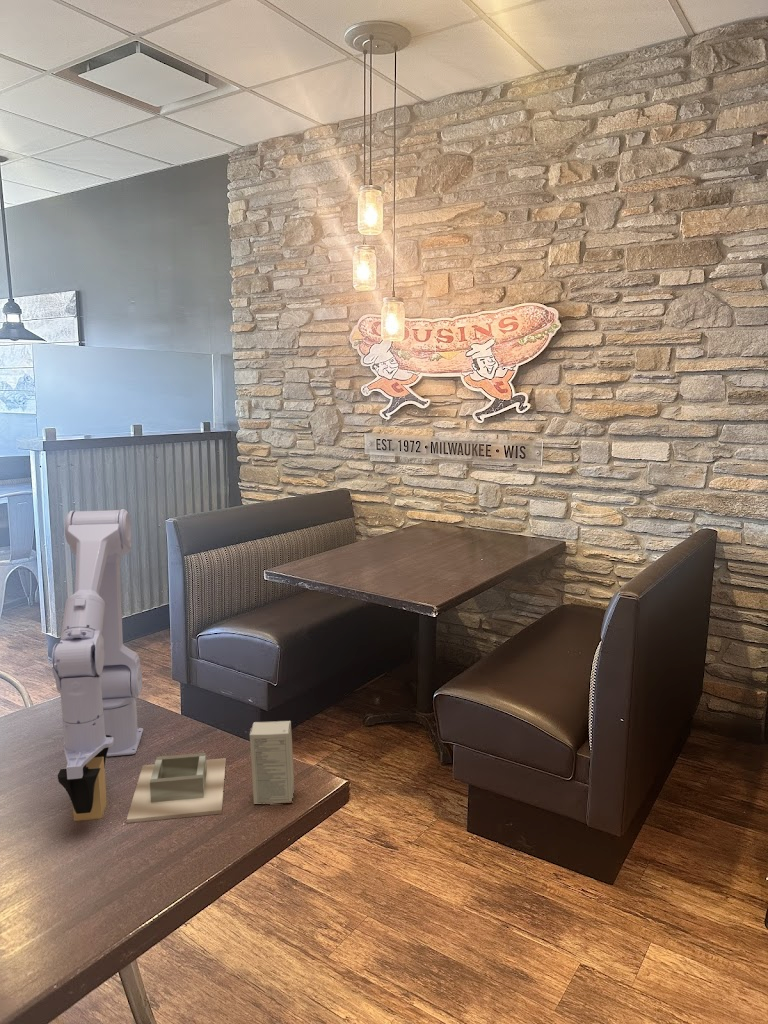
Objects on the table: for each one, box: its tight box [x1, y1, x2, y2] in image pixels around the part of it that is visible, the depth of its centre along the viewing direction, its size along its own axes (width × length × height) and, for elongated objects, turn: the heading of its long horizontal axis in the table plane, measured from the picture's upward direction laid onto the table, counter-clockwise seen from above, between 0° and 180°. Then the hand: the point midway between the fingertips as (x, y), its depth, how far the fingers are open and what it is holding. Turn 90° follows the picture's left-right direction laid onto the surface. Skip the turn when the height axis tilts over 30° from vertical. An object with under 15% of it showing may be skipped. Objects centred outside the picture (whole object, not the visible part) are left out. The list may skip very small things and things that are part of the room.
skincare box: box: [249, 720, 295, 804], centre depth 115 cm, size 6×4×12 cm
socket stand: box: [126, 752, 227, 824], centre depth 118 cm, size 16×14×4 cm
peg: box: [72, 757, 108, 822], centre depth 111 cm, size 4×4×8 cm
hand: (89, 797), depth 112 cm, fingers open, 7 cm apart
